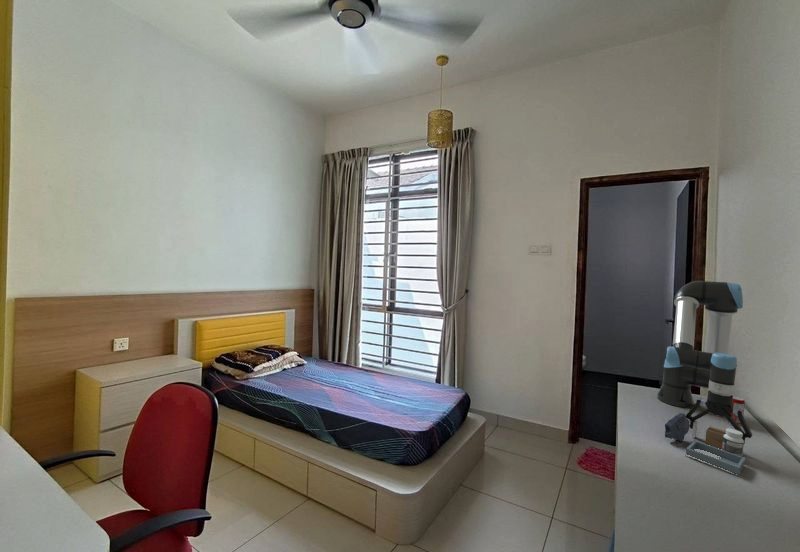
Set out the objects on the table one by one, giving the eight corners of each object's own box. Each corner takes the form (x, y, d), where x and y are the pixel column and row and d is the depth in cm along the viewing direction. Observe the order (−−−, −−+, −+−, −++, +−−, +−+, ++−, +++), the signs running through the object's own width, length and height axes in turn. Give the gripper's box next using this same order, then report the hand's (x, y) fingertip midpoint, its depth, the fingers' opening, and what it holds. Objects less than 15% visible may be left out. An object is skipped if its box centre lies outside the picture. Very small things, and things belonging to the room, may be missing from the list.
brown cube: (708, 440, 148) (710, 425, 147) (725, 445, 144) (726, 431, 143) (705, 444, 144) (706, 429, 144) (721, 450, 140) (722, 435, 140)
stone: (679, 447, 140) (682, 423, 140) (661, 441, 145) (663, 417, 144) (689, 437, 149) (691, 414, 148) (671, 431, 154) (673, 408, 153)
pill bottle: (722, 450, 140) (724, 425, 139) (742, 457, 136) (745, 431, 135) (720, 455, 136) (723, 430, 135) (741, 462, 132) (744, 436, 131)
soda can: (731, 419, 169) (733, 394, 168) (745, 424, 164) (748, 399, 163) (723, 420, 167) (726, 395, 166) (737, 425, 162) (740, 400, 161)
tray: (693, 447, 141) (694, 440, 141) (744, 466, 129) (745, 458, 129) (685, 456, 134) (686, 448, 134) (738, 476, 123) (739, 467, 123)
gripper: (679, 384, 150) (674, 433, 151) (762, 406, 130) (756, 462, 132) (684, 381, 155) (680, 428, 156) (766, 401, 135) (760, 456, 136)
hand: (715, 444), depth 144 cm, fingers open, 13 cm apart
